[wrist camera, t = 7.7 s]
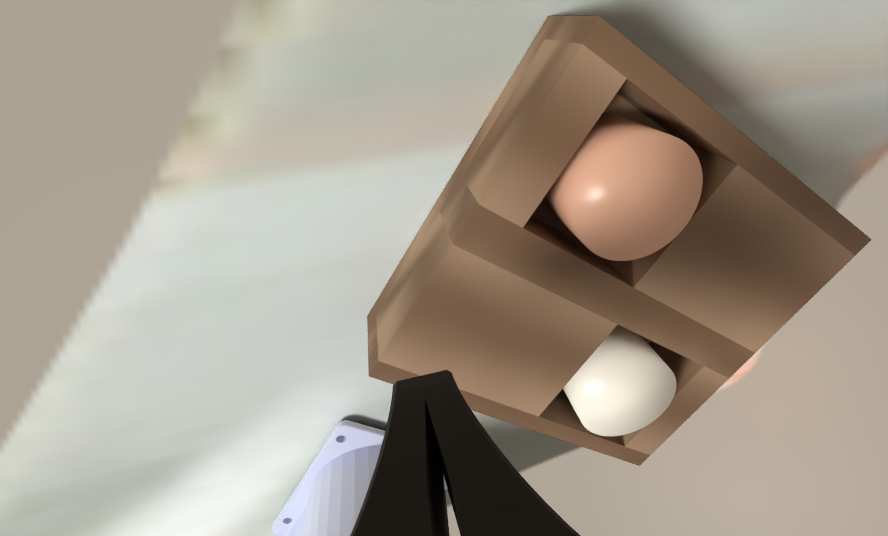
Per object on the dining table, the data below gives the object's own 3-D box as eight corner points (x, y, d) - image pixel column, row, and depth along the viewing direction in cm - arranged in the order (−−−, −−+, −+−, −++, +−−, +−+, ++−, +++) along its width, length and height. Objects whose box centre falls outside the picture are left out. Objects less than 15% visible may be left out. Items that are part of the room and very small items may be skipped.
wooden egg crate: (602, 406, 26) (639, 465, 23) (367, 316, 21) (368, 376, 17) (789, 203, 22) (871, 239, 18) (548, 16, 16) (600, 15, 13)
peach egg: (598, 239, 19) (640, 279, 16) (517, 193, 18) (548, 228, 15) (668, 149, 18) (728, 175, 15) (586, 89, 16) (637, 105, 13)
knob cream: (597, 393, 24) (630, 446, 21) (532, 368, 22) (558, 421, 19) (652, 331, 23) (696, 379, 20) (587, 299, 21) (625, 346, 18)
